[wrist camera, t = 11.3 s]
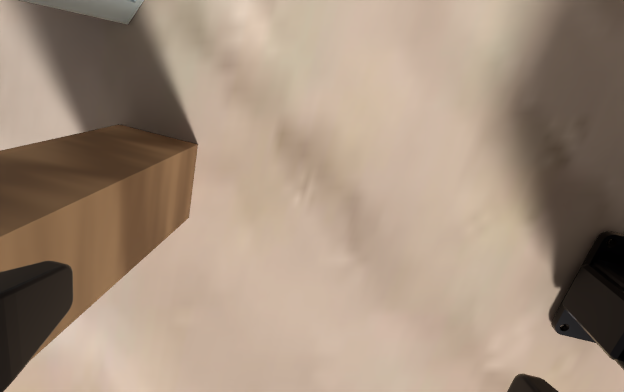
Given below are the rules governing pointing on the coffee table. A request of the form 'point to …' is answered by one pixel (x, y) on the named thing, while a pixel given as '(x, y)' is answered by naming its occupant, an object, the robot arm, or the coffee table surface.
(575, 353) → the coffee table surface
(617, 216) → the coffee table surface
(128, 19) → the crate
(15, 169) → the walnut block
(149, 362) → the coffee table surface
